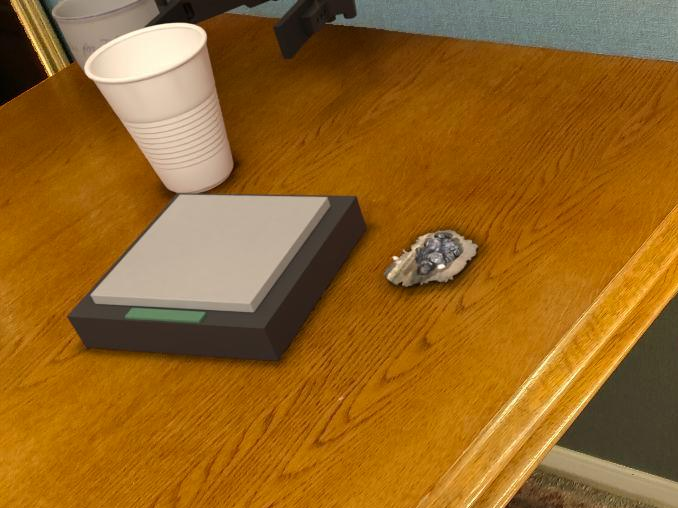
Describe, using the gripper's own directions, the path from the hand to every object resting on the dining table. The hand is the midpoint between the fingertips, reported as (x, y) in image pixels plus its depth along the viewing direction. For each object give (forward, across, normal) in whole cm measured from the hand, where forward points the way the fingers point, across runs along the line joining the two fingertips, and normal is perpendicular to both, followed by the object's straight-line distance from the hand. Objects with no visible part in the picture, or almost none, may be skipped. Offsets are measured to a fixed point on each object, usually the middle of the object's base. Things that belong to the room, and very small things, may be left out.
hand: (213, 45), depth 87 cm
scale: (+24, -11, -8) cm, 27 cm away
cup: (+8, 0, -8) cm, 11 cm away
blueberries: (+20, -26, -8) cm, 33 cm away
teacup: (-12, +17, -8) cm, 22 cm away
